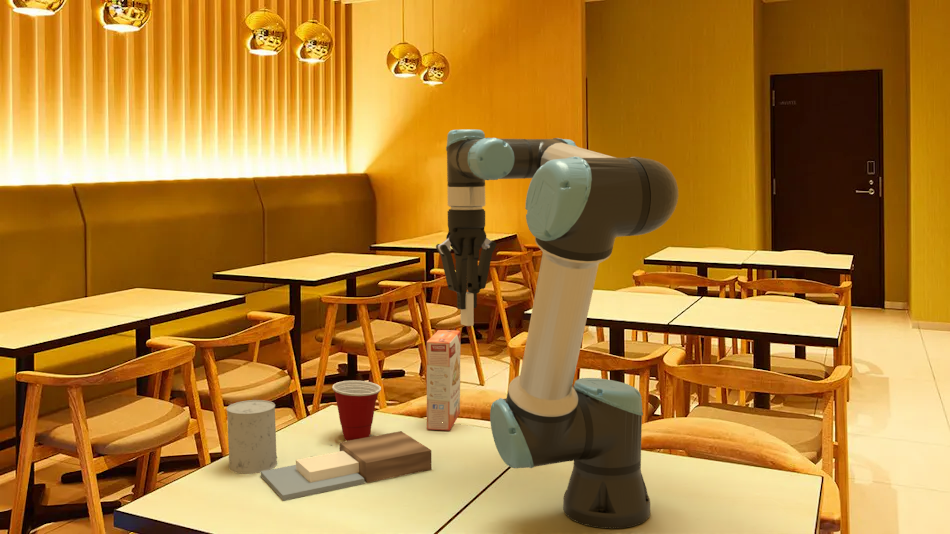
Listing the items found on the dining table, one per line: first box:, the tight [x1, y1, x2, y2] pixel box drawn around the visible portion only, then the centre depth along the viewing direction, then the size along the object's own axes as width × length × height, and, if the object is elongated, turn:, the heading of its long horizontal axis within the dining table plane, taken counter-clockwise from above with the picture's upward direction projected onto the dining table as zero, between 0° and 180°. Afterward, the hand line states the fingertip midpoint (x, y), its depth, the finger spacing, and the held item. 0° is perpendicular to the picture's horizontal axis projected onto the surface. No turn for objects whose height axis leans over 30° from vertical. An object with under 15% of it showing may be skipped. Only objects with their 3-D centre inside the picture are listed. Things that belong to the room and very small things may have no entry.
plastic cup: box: [332, 380, 382, 441], centre depth 190 cm, size 11×11×12 cm
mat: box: [260, 464, 366, 502], centre depth 166 cm, size 14×16×1 cm
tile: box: [295, 450, 359, 483], centre depth 168 cm, size 8×10×2 cm
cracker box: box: [426, 329, 461, 432], centre depth 201 cm, size 14×6×21 cm, turn 171°
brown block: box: [338, 430, 433, 484], centre depth 174 cm, size 14×14×4 cm
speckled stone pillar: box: [226, 399, 278, 475], centre depth 174 cm, size 10×10×12 cm
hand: (467, 324), depth 173 cm, fingers closed
